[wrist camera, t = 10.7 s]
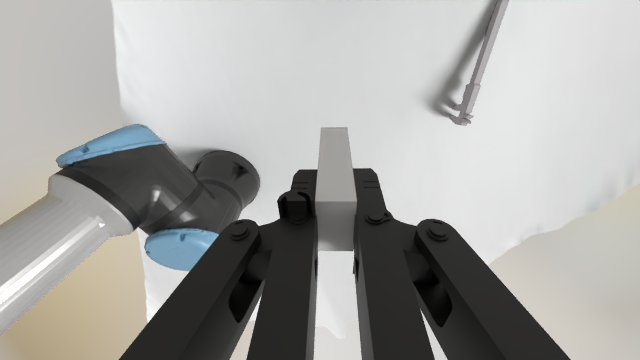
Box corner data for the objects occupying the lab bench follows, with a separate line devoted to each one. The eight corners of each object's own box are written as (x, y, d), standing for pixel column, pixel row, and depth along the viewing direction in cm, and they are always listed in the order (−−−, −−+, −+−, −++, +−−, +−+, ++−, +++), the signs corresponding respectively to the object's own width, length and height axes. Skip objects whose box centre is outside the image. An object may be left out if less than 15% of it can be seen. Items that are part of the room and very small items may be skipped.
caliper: (453, 118, 49) (467, 131, 44) (448, 117, 49) (462, 130, 44) (508, -12, 37) (537, -15, 32) (501, -13, 37) (529, -16, 32)
